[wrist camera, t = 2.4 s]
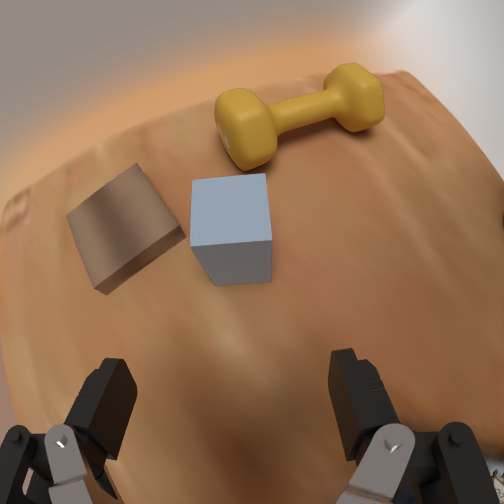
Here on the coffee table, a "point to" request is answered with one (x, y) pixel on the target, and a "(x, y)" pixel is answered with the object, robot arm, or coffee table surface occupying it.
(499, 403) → the coffee table surface
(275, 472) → the coffee table surface
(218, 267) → the pillar
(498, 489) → the game die
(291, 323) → the coffee table surface
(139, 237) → the slab
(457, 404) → the coffee table surface
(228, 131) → the dumbbell
